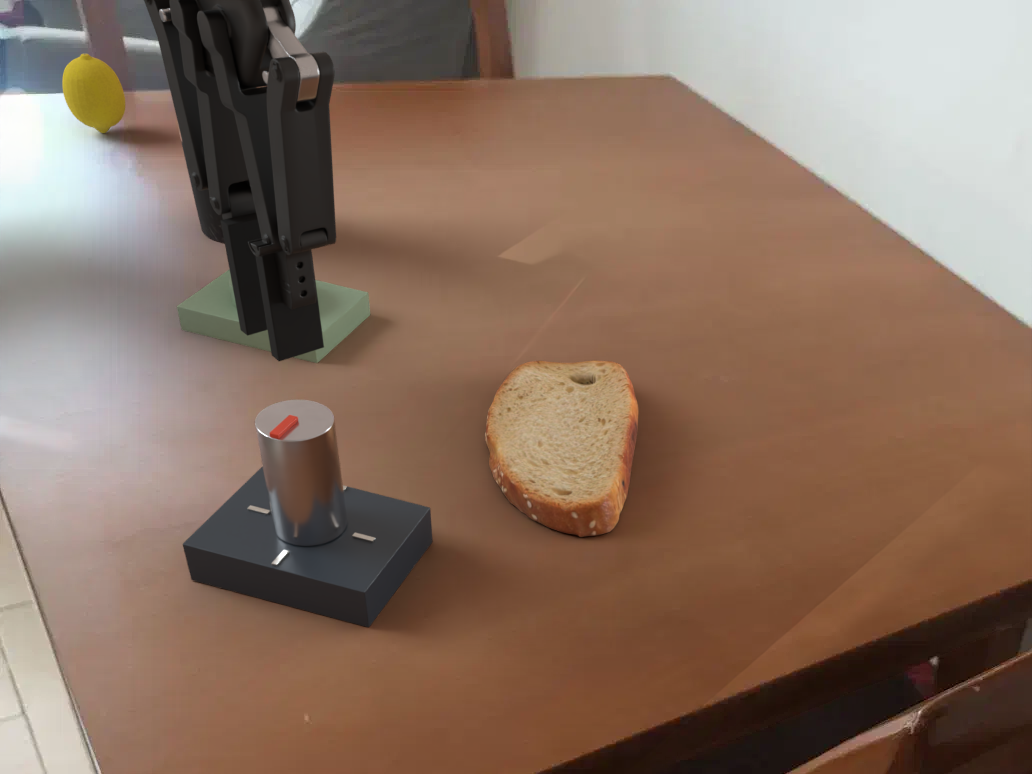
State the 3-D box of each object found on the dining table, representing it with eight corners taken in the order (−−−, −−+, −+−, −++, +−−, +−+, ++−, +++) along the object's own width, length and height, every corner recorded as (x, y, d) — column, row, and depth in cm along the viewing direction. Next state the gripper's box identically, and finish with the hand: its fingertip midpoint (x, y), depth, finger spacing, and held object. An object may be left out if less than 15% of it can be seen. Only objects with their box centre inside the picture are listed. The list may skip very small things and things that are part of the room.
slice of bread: (580, 552, 77) (582, 510, 75) (405, 441, 84) (402, 399, 82) (736, 451, 89) (742, 411, 87) (572, 361, 96) (573, 322, 94)
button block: (181, 330, 92) (171, 285, 89) (243, 284, 99) (236, 241, 96) (317, 363, 91) (311, 319, 88) (370, 315, 98) (366, 272, 95)
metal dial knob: (298, 496, 73) (281, 388, 68) (360, 513, 73) (347, 405, 68) (259, 535, 70) (238, 425, 65) (324, 553, 69) (308, 443, 64)
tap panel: (191, 580, 70) (181, 541, 68) (270, 499, 77) (263, 462, 75) (369, 628, 69) (364, 590, 67) (433, 541, 76) (430, 505, 74)
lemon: (61, 133, 117) (40, 53, 112) (104, 119, 121) (86, 41, 116) (102, 147, 116) (83, 67, 111) (144, 132, 120) (127, 54, 115)
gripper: (33, -187, 49) (148, 299, 64) (213, -100, 42) (295, 424, 57) (200, -186, 54) (271, 267, 69) (389, -107, 46) (421, 380, 61)
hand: (282, 337), depth 63 cm, fingers open, 3 cm apart
